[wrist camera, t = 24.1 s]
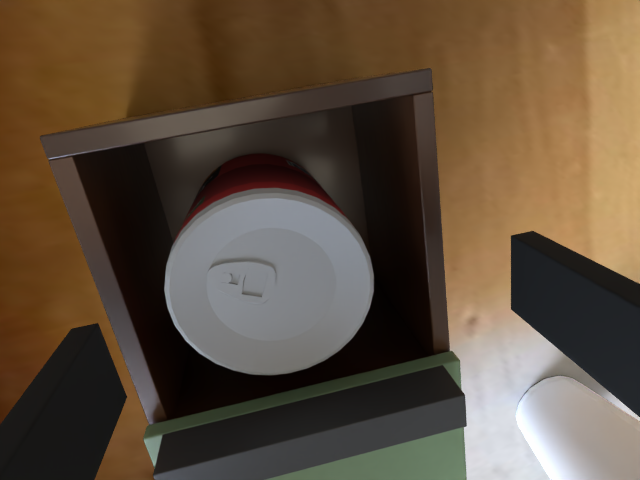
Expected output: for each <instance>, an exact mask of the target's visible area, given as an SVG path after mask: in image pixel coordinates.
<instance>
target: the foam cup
mask: <svg viewBox="0 0 640 480" xmlns="http://www.w3.org/2000/svg"><path fill="white" fill-rule="evenodd" d="M516 419H517V422H518V426H519V428H520V429H521V430H522V434H523V435H524V437H525V439H526V440H527V442H528V443H529V445H530V447H531V448H532V450H533V452H534V453H535V455H536V456H537V458H538V460H539V461H540V463H541V465H542V466H543V468H544V469H545V471H546V473H547V474H548V476H549V478H550V479H551V480H640V421H638V420H637V419H635V418H634V417H632V416H631V415H629V414H627V413H626V412H624V411H623V410H621V409H620V408H618V407H617V406H615V405H614V404H612V403H611V402H609V401H608V400H606V399H605V398H603V397H602V396H600V395H598V394H597V393H595V392H594V391H592V390H591V389H589V388H588V387H586V386H585V385H583V384H582V383H580V382H577V381H576V380H575V379H573V378H570V377H565V376H560V375H559V376H555V377H551V378H546V379H543V380H542V381H540V382H539V383H537V384H536V385H534V386H533V387H531V388H530V389H529V390H528V391H527V392H526V394H525V395H524V396H523V398H522V399H521V400H520V401H519V405H518V409H517V412H516Z"/></svg>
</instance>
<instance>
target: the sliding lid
mask: <svg viewBox="0 0 640 480" xmlns="http://www.w3.org/2000/svg"><path fill="white" fill-rule="evenodd" d="M466 426H467V425H466V406H465V394H464V393H463V392H462V390H461V373H460V360H459V359H458V358H457V356H456V355H455V354H454V353H453V351H449V352H445V353H441V354H437V355H433V356H429V357H425V358H421V359H416V360H412V361H408V362H404V363H400V364H396V365H392V366H388V367H384V368H380V369H376V370H372V371H368V372H363V373H359V374H355V375H351V376H347V377H343V378H339V379H335V380H331V381H327V382H323V383H319V384H315V385H310V386H306V387H302V388H298V389H294V390H290V391H286V392H282V393H278V394H274V395H270V396H266V397H262V398H257V399H253V400H249V401H245V402H241V403H237V404H233V405H229V406H225V407H221V408H217V409H213V410H209V411H204V412H200V413H196V414H192V415H188V416H184V417H180V418H176V419H172V420H168V421H164V422H160V423H156V424H151V425H148V426H147V428H146V431H145V434H144V438H143V440H144V442H145V445H146V447H147V450H148V453H149V455H150V458H151V460H152V463H153V465H154V468H155V469H154V473H153V477H154V479H155V480H466V462H465V444H464V427H466Z"/></svg>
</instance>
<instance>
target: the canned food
mask: <svg viewBox="0 0 640 480" xmlns="http://www.w3.org/2000/svg"><path fill="white" fill-rule="evenodd" d="M164 291H165V297H166V303H167V308H168V311H169V313H170V315H171V318H172V320H173V323H174V325H175V327H176V328H177V329H178V331H179V332H180V334H181V335H182V336H183V338H184V339H185V341H186V342H188V343H189V344H190V345H191V346H192V347H193V348H194V349H195V350H196V351H197V352H198V353H200V354H201V355H203V356H204V357H206V358H208V359H209V360H211V361H212V362H214V363H216V364H218V365H221V366H223V367H226V368H228V369H231V370H234V371H238V372H243V373H248V374H255V375H278V374H287V373H292V372H296V371H299V370H303V369H307V368H309V367H312V366H314V365H316V364H318V363H320V362H322V361H325V360H326V359H328V358H329V357H331V356H332V355H334V354H335V353H336V352H338V351H339V350H341V349H342V348H343V347H344V346H345V345H346V344H347V343H348V342H349V341H350V340H351V339H352V338H353V337H354V335H355V334H356V332H357V331H358V330H359V328H360V327H361V325H362V324H363V322H364V320H365V317H366V315H367V313H368V311H369V309H370V305H371V300H372V296H373V291H374V273H373V269H372V264H371V259H370V256H369V254H368V251H367V249H366V247H365V244H364V242H363V240H362V238H361V236H360V234H359V233H358V232H357V230H356V229H355V228H354V226H353V225H352V223H351V222H350V221H349V219H348V218H347V217H346V215H345V214H344V213H343V211H342V210H341V209H340V208H339V207H338V206H337V204H336V203H335V202H334V201H333V200H332V198H331V197H330V196H329V195H328V194H327V193H326V191H325V190H324V189H323V188H322V187H321V185H320V184H319V183H318V182H317V181H316V180H315V178H314V177H313V176H312V175H311V174H310V173H309V172H308V171H306V170H305V169H304V168H303V167H302V166H300V165H298V164H296V163H295V162H293V161H291V160H289V159H286V158H283V157H280V156H277V155H270V154H249V155H244V156H240V157H236V158H234V159H232V160H230V161H227V162H225V163H224V164H222V165H221V166H219V167H218V168H217V169H215V170H214V171H213V172H212V173H211V174H210V175H209V176H208V177H207V179H206V180H205V181H204V183H203V185H202V186H201V188H200V190H199V192H198V194H197V196H196V198H195V200H194V202H193V204H192V206H191V208H190V210H189V212H188V214H187V216H186V218H185V220H184V222H183V224H182V226H181V228H180V230H179V232H178V234H177V236H176V238H175V242H174V244H173V246H172V248H171V252H170V255H169V258H168V261H167V265H166V273H165V288H164Z"/></svg>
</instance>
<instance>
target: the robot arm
mask: <svg viewBox="0 0 640 480" xmlns="http://www.w3.org/2000/svg"><path fill="white" fill-rule="evenodd" d="M511 310H513V311H514V312H515V313H516V314H517V315H519V316H520V317H521V318H522V319H523V320H525V321H526V322H527V323H528V324H529V325H531V326H532V327H533V328H534V329H535V330H536V331H538V332H539V333H540V334H541V335H542V336H544V337H545V338H546V339H547V340H548V341H550V342H551V343H552V344H553V345H554V346H556V347H557V348H558V349H559V350H560V351H562V352H563V353H564V354H565V355H566V356H567V357H569V358H570V359H571V360H572V361H573V362H575V363H576V364H577V365H578V366H579V367H581V368H582V369H583V370H584V371H585V372H587V373H588V374H589V375H590V376H591V377H592V378H594V379H595V380H596V381H597V382H598V383H600V384H601V385H602V386H603V387H604V388H606V389H607V390H608V391H609V392H610V393H612V394H613V395H614V396H615V397H616V398H618V399H619V400H620V401H621V402H622V403H623V404H625V405H626V406H627V407H628V408H629V409H631V410H632V411H633V412H634V413H635V414H637V415H638V416H639V417H640V284H638V283H636V282H634V281H632V280H630V279H628V278H626V277H624V276H622V275H620V274H618V273H616V272H614V271H612V270H610V269H608V268H606V267H604V266H602V265H600V264H598V263H596V262H594V261H592V260H590V259H588V258H586V257H584V256H582V255H580V254H578V253H576V252H574V251H572V250H570V249H568V248H566V247H564V246H562V245H560V244H558V243H556V242H554V241H552V240H550V239H548V238H546V237H544V236H542V235H540V234H538V233H536V232H534V231H530V232H526V233H521V234H516V235H512V236H511ZM126 398H127V396H126V393H125V391H124V388H123V386H122V383H121V380H120V378H119V375H118V373H117V370H116V368H115V365H114V363H113V360H112V358H111V355H110V353H109V350H108V347H107V345H106V342H105V340H104V337H103V335H102V332H101V330H100V327H99V325H98V323H97V324H92V325H87V326H83V327H78V328H73V329H71V330H70V331H69V333H68V334H67V335H66V337H65V338H64V340H63V341H62V342H61V344H60V345H59V346H58V348H57V349H56V350H55V352H54V353H53V354H52V356H51V357H50V358H49V360H48V361H47V362H46V364H45V365H44V367H43V368H42V369H41V371H40V372H39V373H38V375H37V376H36V377H35V379H34V380H33V381H32V383H31V384H30V385H29V387H28V388H27V389H26V391H25V392H24V393H23V395H22V396H21V398H20V399H19V400H18V402H17V403H16V404H15V406H14V407H13V408H12V410H11V411H10V412H9V414H8V415H7V416H6V418H5V419H4V420H3V422H2V423H1V424H0V480H94V479H95V477H96V474H97V472H98V469H99V466H100V464H101V461H102V459H103V456H104V454H105V451H106V449H107V446H108V444H109V441H110V439H111V436H112V434H113V431H114V429H115V426H116V424H117V421H118V419H119V416H120V414H121V411H122V408H123V406H124V403H125V401H126Z"/></svg>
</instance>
